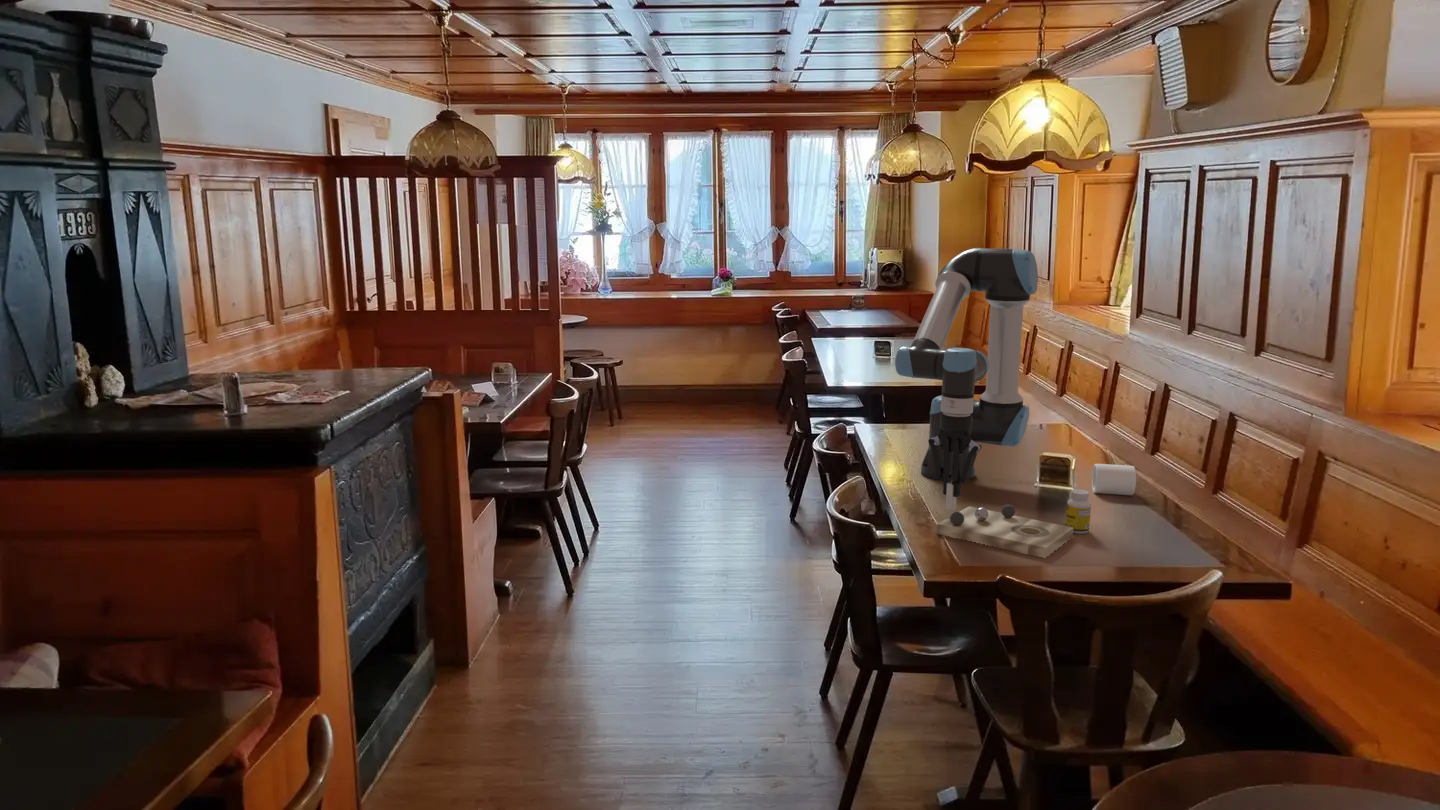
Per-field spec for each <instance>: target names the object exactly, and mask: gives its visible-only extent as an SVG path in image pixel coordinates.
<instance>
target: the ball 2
mask: <svg viewBox="0 0 1440 810" xmlns="http://www.w3.org/2000/svg"><path fill="white" fill-rule="evenodd" d="M1015 509H1016V508H1015V507H1014V506H1013V505H1011V504H1005V505H1003V506H1002V507H1001V512H1000V513H1002V515H1003V516H1004V517H1006V518H1011V517H1012V516H1015V514H1016V510H1015Z"/></svg>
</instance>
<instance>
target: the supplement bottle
mask: <svg viewBox="0 0 1440 810" xmlns="http://www.w3.org/2000/svg"><path fill="white" fill-rule="evenodd" d="M1070 497H1071V498H1069V499H1068V500H1067V503H1066V512H1065V513H1066V514H1065V525H1064V526H1068V527H1073V534H1077V535H1078V534H1079V535H1083V534H1084V535H1085V534H1087V533H1089V531H1090V523H1091V511H1092V510H1091V509H1092V503H1091V501H1090V500H1089V497H1090V492H1089V491H1087V490H1085V489H1080V488H1078V489H1076V488H1075V489H1071V491H1070Z"/></svg>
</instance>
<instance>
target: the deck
mask: <svg viewBox="0 0 1440 810" xmlns="http://www.w3.org/2000/svg"><path fill="white" fill-rule="evenodd" d="M978 508H979V507H974V506H969V505H968V506H967V507H966V508H964V509H962V510H960V511H959V512H960V513H962V514H963V516H964V522H963V523H962V524H961V525H959V526H956V525H954V524H952V523H951V520H950V517H951V516H949V517H948V518H946V519H944V520H942V521H940V522H938V523H937V525H936V535H939V536H944V537H948V536H949V537H948V538H953V539H957V538H958V539H957V540H961V539H962V540H961V541H965V540H967V541H966V542H970V541H972V542H971V543H974V542H976V544H979V543H980V544H979V545H983V544H985V545H984V546H987V545H988V547H992V546H993V548H996V547H997V549H1001V548H1002V550H1005V549H1006V550H1005V551H1010V552H1015V553H1019V554H1024V555H1028V556H1033V557H1036V556H1037V557H1038V558H1041V557H1042V558H1041V559H1047V558H1048V557H1049V556H1051V555H1052V554H1054V553H1055V552H1056V551H1057V550H1059V549H1060V548H1061V547H1063V546H1064V545H1065V544H1066V543H1068V542H1069V541H1071V540H1072V539H1073V538H1074V533H1073V527H1068V526H1065V525H1064V524H1063V525H1062V524H1057V523H1052V522H1048V521H1043V520H1039V519H1034V518H1028V517H1024V516H1018V515H1014V516H1012V517H1011V518H1006V517H1004V516H1003V515H1002V513H1001V512H999V511H998V512H997V511H994V510H989V509H986V510H987V511H988V518H987V519H986V520H984V521H979V520H977V519H976V517H975V511H976V509H978ZM1072 537H1073V538H1072ZM1071 538H1072V539H1071ZM1068 540H1069V541H1068ZM1067 541H1068V542H1067ZM1064 543H1065V544H1064ZM1063 544H1064V545H1063ZM1059 547H1060V548H1059ZM1058 548H1059V549H1058ZM1055 550H1056V551H1055ZM1054 551H1055V552H1054ZM1051 553H1052V554H1051ZM1050 554H1051V555H1050ZM1047 556H1048V557H1047ZM1046 557H1047V558H1046Z"/></svg>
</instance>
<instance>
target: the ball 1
mask: <svg viewBox="0 0 1440 810" xmlns="http://www.w3.org/2000/svg"><path fill="white" fill-rule="evenodd" d="M949 517H950V520H951V523H952V524H954V525H956V526H959V525H961V524H962V523H963V522H964V516H963V514H962V513H960V511H954V512H953V513H951V515H950V516H949Z"/></svg>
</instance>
